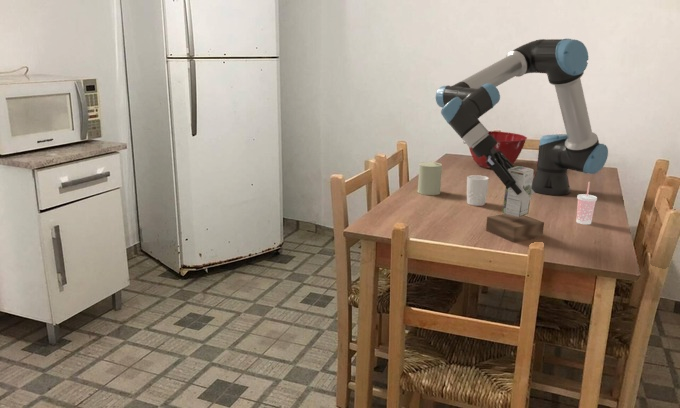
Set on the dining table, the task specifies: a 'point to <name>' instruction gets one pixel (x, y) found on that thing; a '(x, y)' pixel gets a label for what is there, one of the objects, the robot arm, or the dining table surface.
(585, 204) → the beverage cup
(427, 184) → the can
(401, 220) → the dining table surface
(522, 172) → the drink carton
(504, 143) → the mixing bowl
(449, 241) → the dining table surface
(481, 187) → the white cup
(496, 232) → the walnut block
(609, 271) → the dining table surface
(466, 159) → the dining table surface
